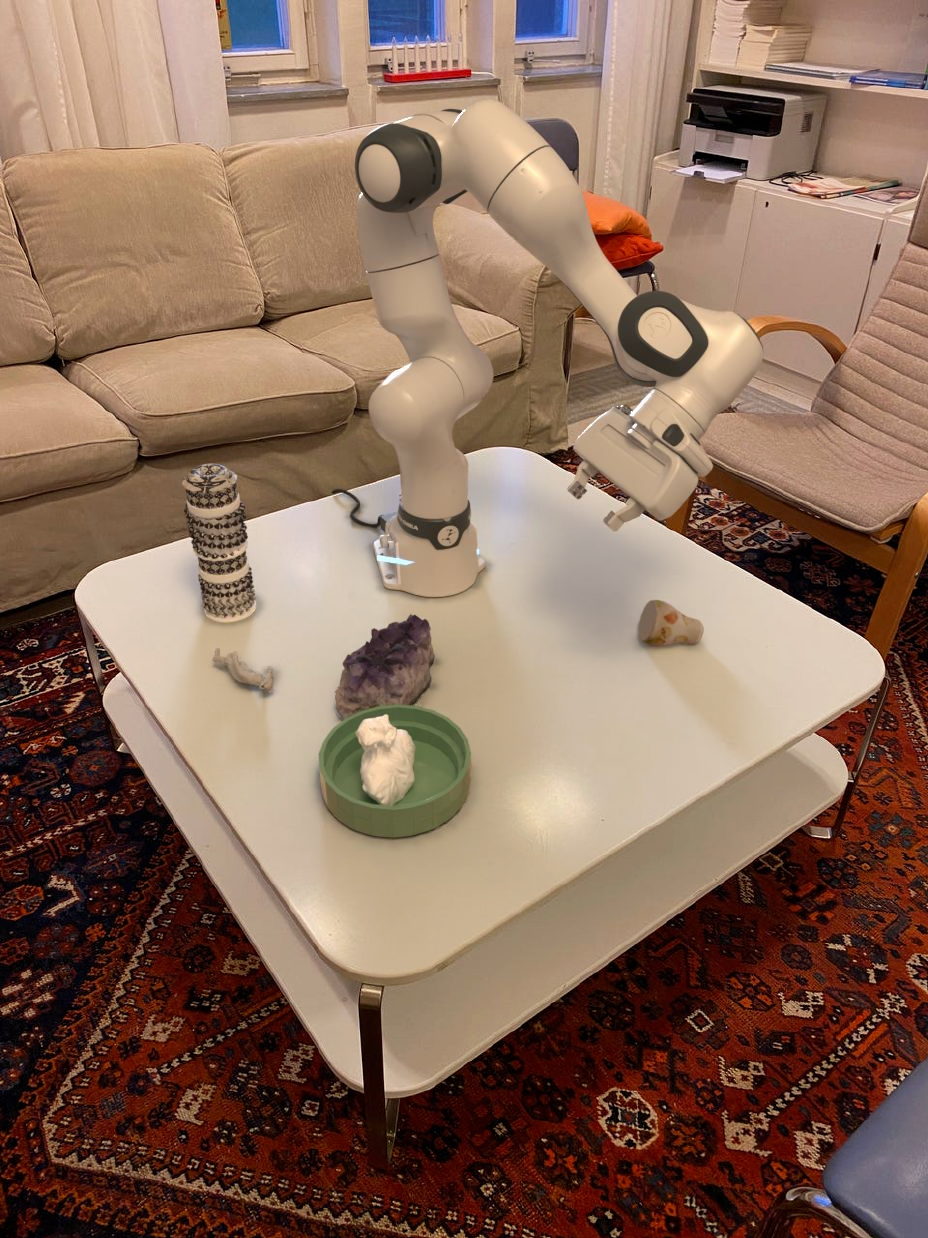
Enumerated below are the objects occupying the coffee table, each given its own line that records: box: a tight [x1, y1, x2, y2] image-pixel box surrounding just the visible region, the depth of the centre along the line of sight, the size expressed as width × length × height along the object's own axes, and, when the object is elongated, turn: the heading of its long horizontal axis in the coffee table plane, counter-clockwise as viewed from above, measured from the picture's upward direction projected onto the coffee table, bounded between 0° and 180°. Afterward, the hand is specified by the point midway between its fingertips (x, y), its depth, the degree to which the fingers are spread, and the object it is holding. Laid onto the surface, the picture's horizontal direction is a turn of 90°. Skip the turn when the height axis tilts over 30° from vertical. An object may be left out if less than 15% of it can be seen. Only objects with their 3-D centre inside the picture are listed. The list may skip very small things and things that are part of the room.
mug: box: [638, 599, 705, 646], centre depth 149 cm, size 8×10×10 cm
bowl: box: [318, 704, 472, 838], centre depth 122 cm, size 19×19×6 cm
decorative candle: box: [181, 463, 257, 624], centre depth 150 cm, size 9×9×25 cm
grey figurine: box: [211, 647, 275, 694], centre depth 140 cm, size 8×5×12 cm
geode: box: [334, 613, 435, 721], centre depth 137 cm, size 20×12×10 cm, turn 159°
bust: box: [356, 714, 415, 806], centre depth 120 cm, size 12×8×11 cm
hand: (589, 510), depth 124 cm, fingers open, 8 cm apart
